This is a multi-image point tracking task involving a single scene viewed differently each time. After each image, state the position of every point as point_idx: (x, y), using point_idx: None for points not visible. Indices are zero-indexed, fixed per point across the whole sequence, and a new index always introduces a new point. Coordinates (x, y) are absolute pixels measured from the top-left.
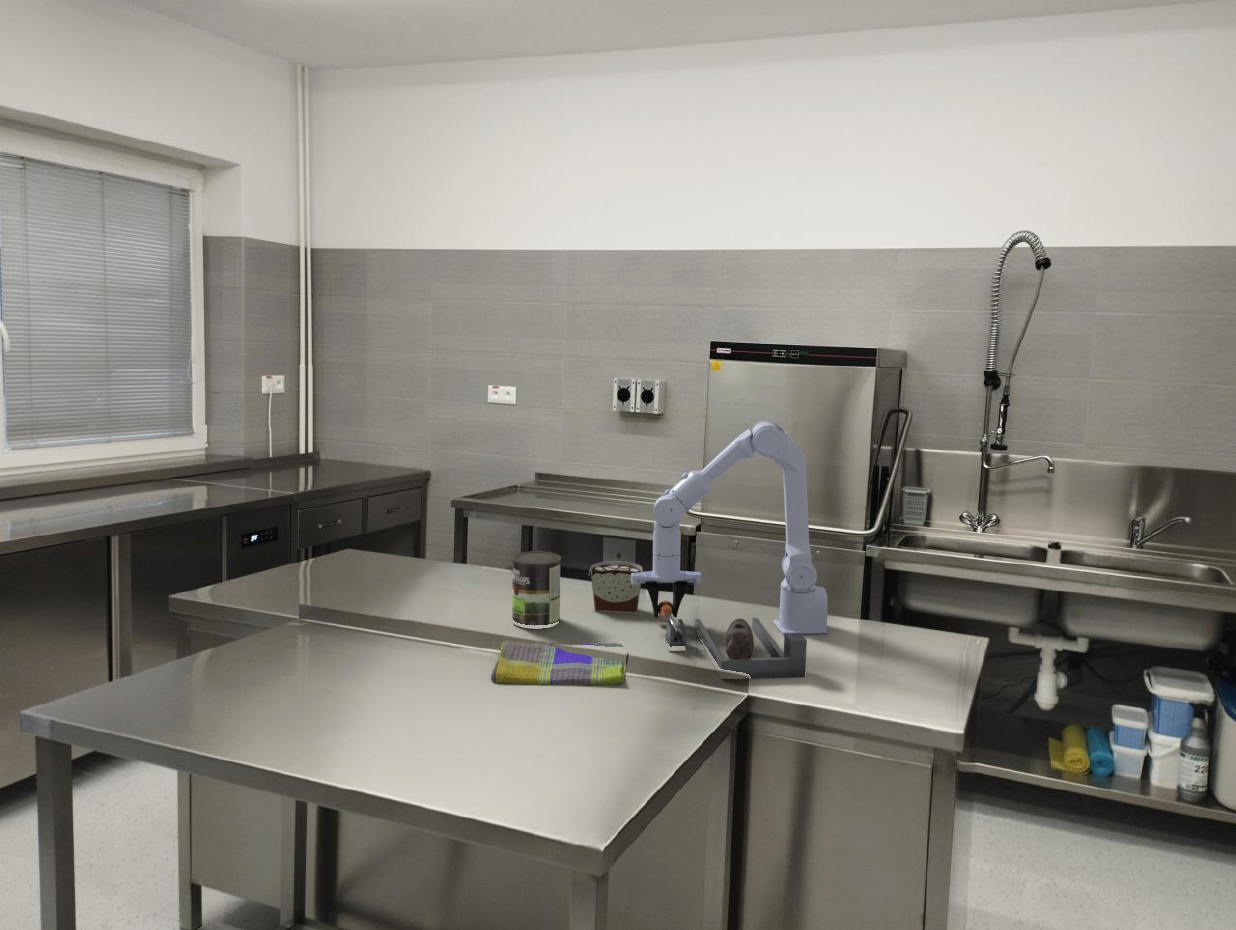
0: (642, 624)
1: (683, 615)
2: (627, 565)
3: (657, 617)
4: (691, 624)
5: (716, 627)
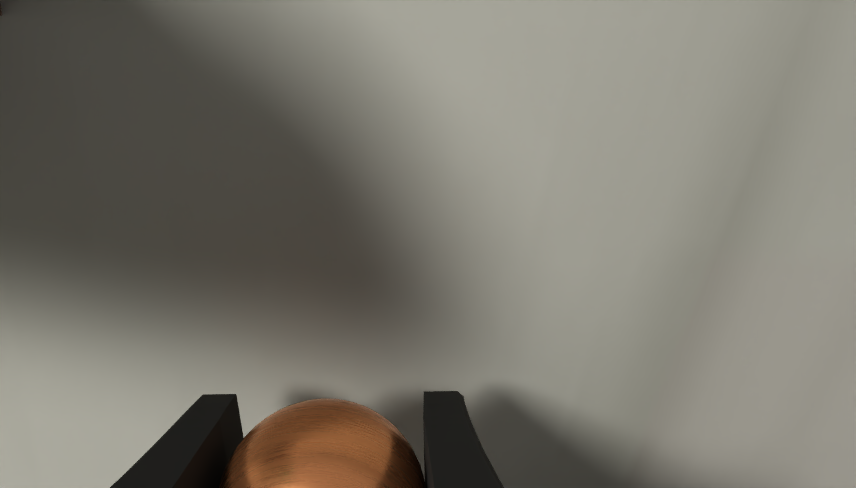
0: (110, 382)
1: (602, 130)
2: None
3: None
4: (609, 404)
5: (820, 481)
